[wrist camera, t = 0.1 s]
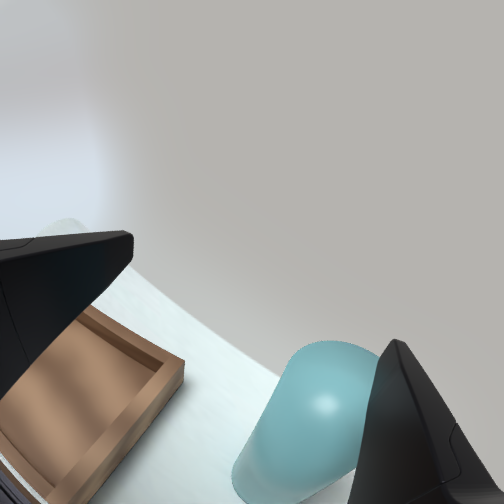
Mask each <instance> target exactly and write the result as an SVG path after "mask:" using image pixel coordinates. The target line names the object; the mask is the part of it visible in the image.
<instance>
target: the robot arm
mask: <svg viewBox="0 0 504 504" xmlns="http://www.w3.org/2000/svg"><path fill="white" fill-rule="evenodd" d="M133 249H134V237H133V235H132V234H131V233H128V232H126V231H124V230H121V231H107V232H93V233H80V234H68V235H56V236H45V237H36V238H23V239H10V240H0V401H1V399H2V398H3V397H4V396H5V395H6V393H7V392H8V391H9V390H10V389H11V388H12V386H13V385H14V384H15V383H16V382H17V381H18V380H19V378H20V377H21V376H22V375H23V374H24V373H25V372H26V371H27V369H28V368H29V367H30V366H31V365H32V364H33V363H34V361H35V360H36V359H37V358H38V357H39V356H40V355H41V354H42V353H43V352H44V351H45V350H46V349H47V348H48V347H49V345H50V344H51V343H52V342H53V341H54V340H55V339H56V338H57V337H58V336H59V335H60V334H61V333H62V332H63V331H64V330H65V329H66V328H67V327H68V326H69V325H70V324H71V323H72V322H73V321H74V320H75V319H76V318H77V317H78V316H79V315H80V314H81V313H82V312H83V311H84V310H85V309H86V308H87V307H88V306H89V305H90V304H91V303H92V302H93V301H94V300H95V299H97V298H98V297H99V296H100V295H101V294H102V293H103V292H104V291H105V290H106V289H107V288H108V287H109V286H110V284H111V283H112V282H113V281H114V280H115V279H116V278H117V276H118V275H119V274H120V273H121V272H122V271H123V270H124V269H125V267H126V266H127V265H128V264H129V263H130V262H131V260H132V258H133ZM0 504H41V503H40V502H39V501H38V500H36V499H35V498H34V497H33V496H32V495H31V494H30V493H29V492H28V491H27V489H26V488H25V487H24V486H23V485H22V484H21V483H20V482H19V481H18V480H17V479H16V478H15V477H14V475H13V474H12V473H11V472H10V471H9V470H8V469H7V467H6V466H5V465H4V464H3V463H2V461H1V460H0ZM347 504H504V492H503V491H501V490H500V489H499V488H498V486H497V485H496V484H495V482H494V480H493V479H492V477H491V476H490V474H489V473H488V471H487V470H486V468H485V466H484V465H483V463H482V462H481V460H480V459H479V457H478V456H477V454H476V453H475V451H474V450H473V448H472V446H471V445H470V443H469V442H468V440H467V438H466V437H465V435H464V433H463V432H462V430H461V428H460V426H459V425H458V423H456V420H455V418H454V417H453V415H452V413H451V412H450V410H449V408H448V407H447V405H446V404H445V402H444V400H443V399H442V397H441V396H440V394H439V392H438V391H437V389H436V388H435V386H434V385H433V383H432V382H431V380H430V378H429V377H428V375H427V374H426V372H425V371H424V369H423V368H422V366H421V365H420V363H419V362H418V360H417V359H416V358H415V356H414V354H413V353H412V352H411V350H410V349H409V347H408V346H407V344H406V343H405V342H403V341H400V340H397V339H393V340H392V341H391V342H390V343H389V345H388V346H387V348H386V349H385V350H384V352H383V353H382V355H381V356H380V358H379V360H378V363H377V367H376V371H375V376H374V380H373V385H372V389H371V393H370V397H369V401H368V405H367V411H366V418H365V424H364V430H363V436H362V442H361V447H360V452H359V457H358V462H357V467H356V471H355V476H354V480H353V484H352V488H351V492H350V496H349V500H348V503H347Z"/></svg>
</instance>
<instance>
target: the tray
mask: <svg viewBox="0 0 504 504" xmlns="http://www.w3.org/2000/svg"><path fill="white" fill-rule="evenodd" d="M184 366H185V360H183V359H181V358H179V357H177V356H175V355H173V354H171V353H169V352H168V351H166V350H164V349H162V348H160V347H158V346H157V345H155V344H153V343H151V342H150V341H148V340H146V339H144V338H143V337H141V336H139V335H138V334H136V333H134V332H133V331H131V330H129V329H128V328H126V327H124V326H123V325H121V324H119V323H118V322H116V321H115V320H113V319H112V318H110V317H108V316H107V315H105V314H104V313H102V312H101V311H99V310H98V309H96V308H95V307H93V306H92V305H89V306H88V307H87V308H86V309H85V310H84V311H83V312H82V313H81V314H80V315H79V316H78V317H77V318H76V319H75V320H74V321H73V322H72V323H71V324H70V325H69V326H68V327H67V328H66V329H65V330H64V331H63V332H62V333H61V334H60V335H59V336H58V337H57V338H56V339H55V340H54V341H53V342H52V343H51V344H50V345H49V347H48V348H47V349H46V350H45V351H44V352H43V353H42V354H41V355H40V356H39V357H38V358H37V359H36V360H35V361H34V363H33V364H32V365H31V366H30V367H29V368H28V369H27V371H26V372H25V373H24V374H23V375H22V376H21V377H20V378H19V380H18V381H17V382H16V383H15V384H14V385H13V386H12V388H11V389H10V390H9V391H8V392H7V393H6V395H5V396H4V397H3V398H2V399H1V401H0V452H1V453H2V455H3V456H4V457H5V458H6V459H7V461H8V462H9V463H10V464H11V465H12V466H13V467H14V469H15V470H16V471H17V472H18V473H19V474H20V475H21V476H22V477H23V478H24V479H25V481H26V482H27V483H28V484H29V485H30V486H31V487H32V488H33V489H34V490H35V491H36V492H37V493H38V494H39V495H40V496H42V497H43V498H44V499H45V500H46V501H47V502H48V503H49V504H87V503H88V502H89V500H90V499H91V498H92V497H93V496H94V494H95V493H96V492H97V491H98V489H99V488H100V487H101V486H102V485H103V483H104V482H105V481H106V480H107V478H108V477H109V476H110V475H111V473H112V472H113V471H114V470H115V468H116V467H117V466H118V465H119V463H120V462H121V461H122V460H123V458H124V457H125V456H126V455H127V453H128V452H129V451H130V450H131V448H132V447H133V446H134V445H135V443H136V442H137V441H138V439H139V438H140V437H141V436H142V434H143V433H144V432H145V430H146V429H147V428H148V427H149V425H150V424H151V423H152V421H153V420H154V419H155V418H156V416H157V415H158V414H159V412H160V411H161V410H162V409H163V407H164V406H165V405H166V403H167V402H168V401H169V399H170V398H171V397H172V396H173V394H174V393H175V392H176V390H177V389H178V388H179V386H180V385H181V384H182V382H183V377H184Z"/></svg>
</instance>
